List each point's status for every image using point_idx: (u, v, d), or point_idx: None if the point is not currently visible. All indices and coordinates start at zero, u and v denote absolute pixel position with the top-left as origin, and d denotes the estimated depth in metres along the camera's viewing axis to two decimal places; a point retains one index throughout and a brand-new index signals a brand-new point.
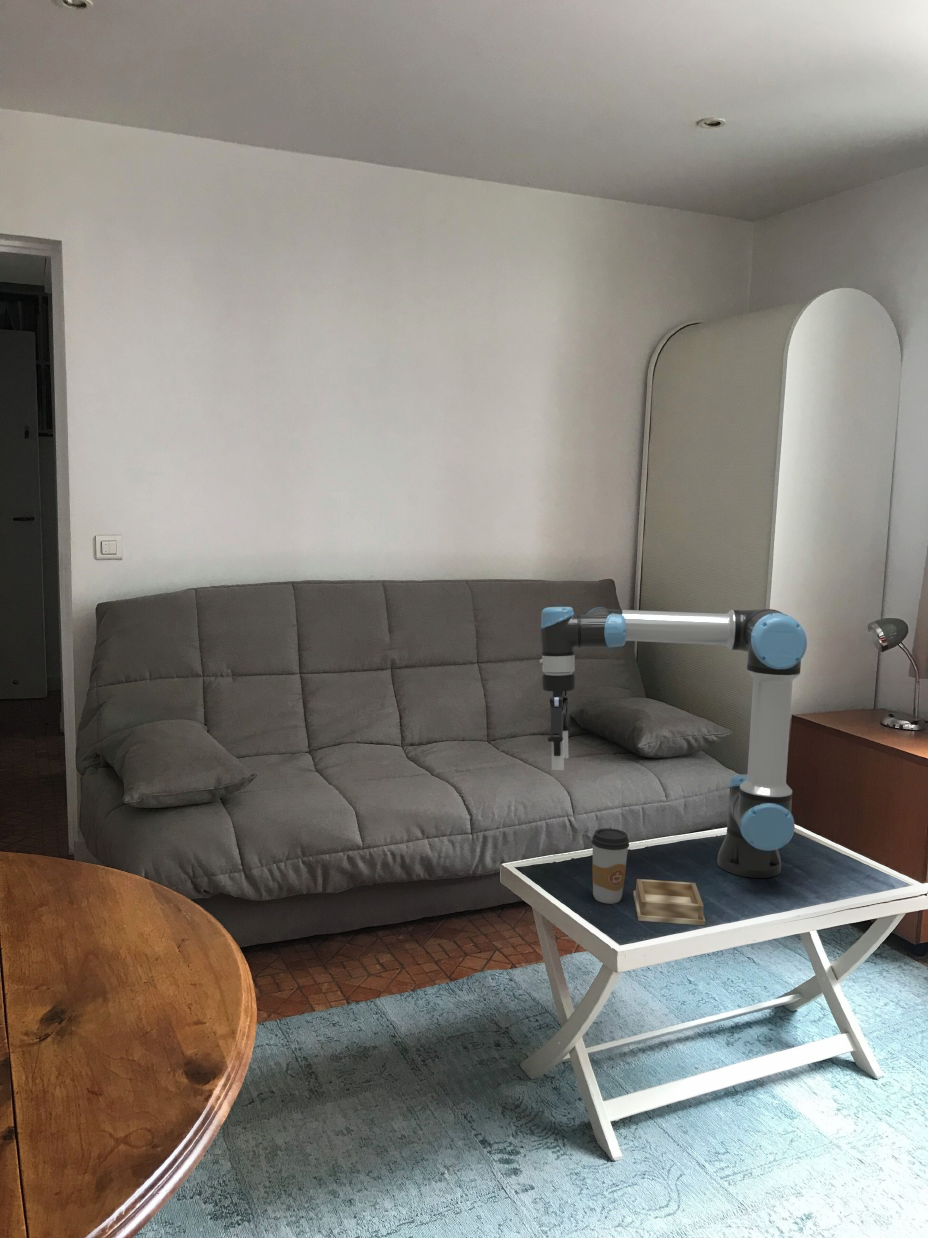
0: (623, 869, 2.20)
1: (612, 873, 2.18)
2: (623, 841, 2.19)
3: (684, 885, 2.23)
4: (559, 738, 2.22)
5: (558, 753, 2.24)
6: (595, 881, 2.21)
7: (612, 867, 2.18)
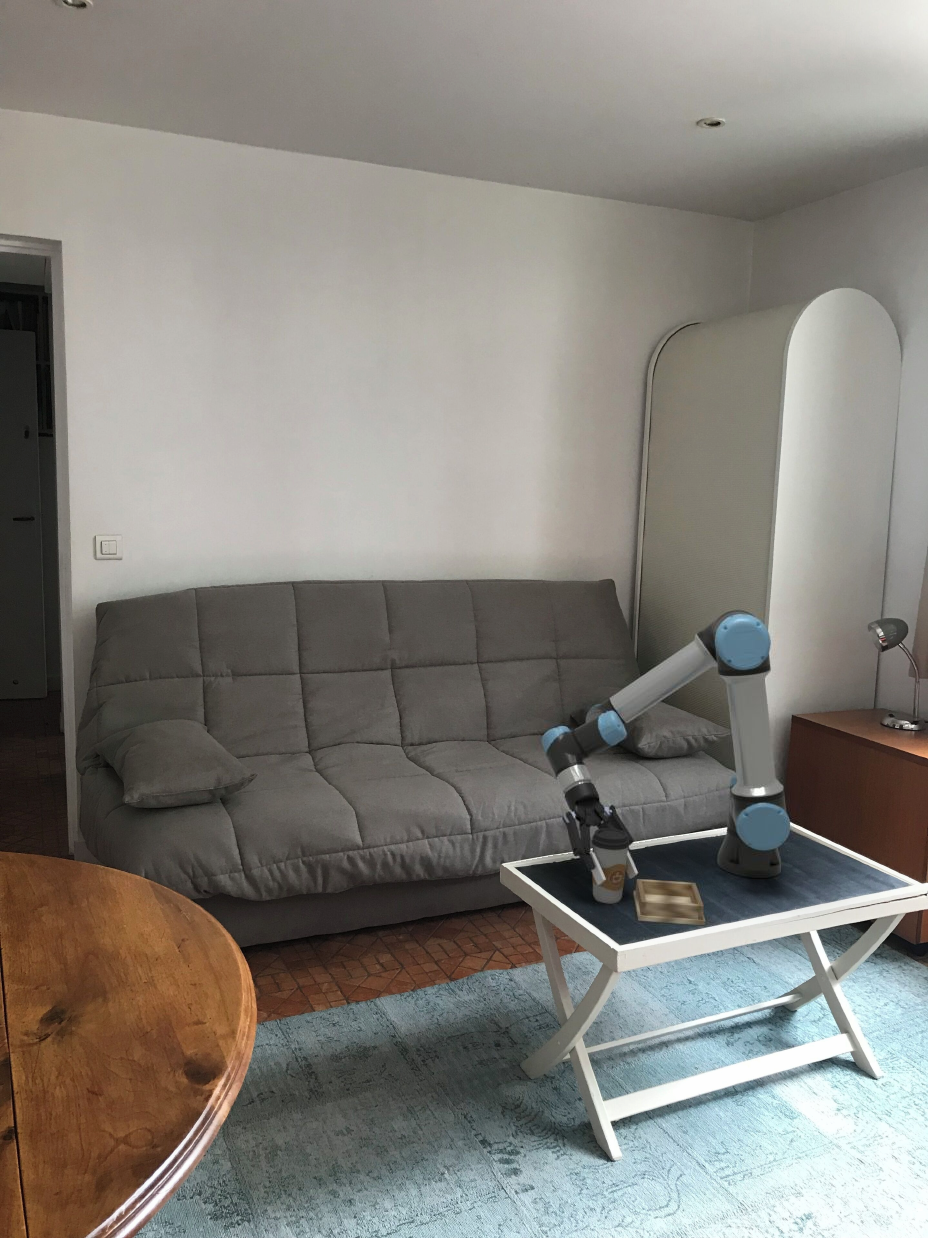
0: (623, 869, 2.20)
1: (612, 873, 2.18)
2: (623, 841, 2.19)
3: (684, 885, 2.23)
4: (577, 850, 2.19)
5: (589, 866, 2.18)
6: (595, 881, 2.21)
7: (612, 867, 2.18)
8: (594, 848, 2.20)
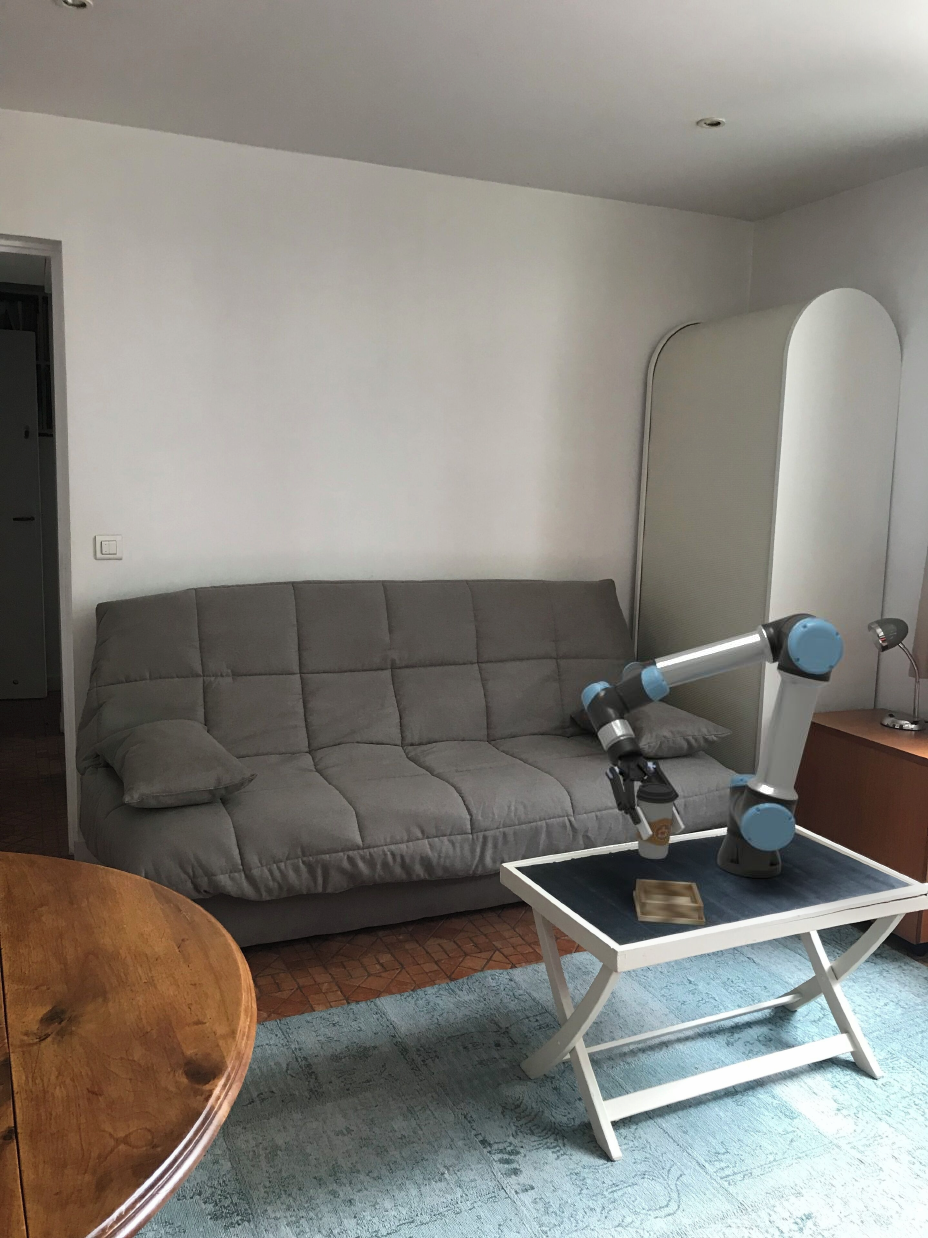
0: (669, 823, 2.15)
1: (658, 828, 2.13)
2: (669, 794, 2.13)
3: (684, 885, 2.23)
4: (622, 805, 2.14)
5: (635, 820, 2.13)
6: (640, 837, 2.16)
7: (658, 821, 2.13)
8: (639, 802, 2.15)
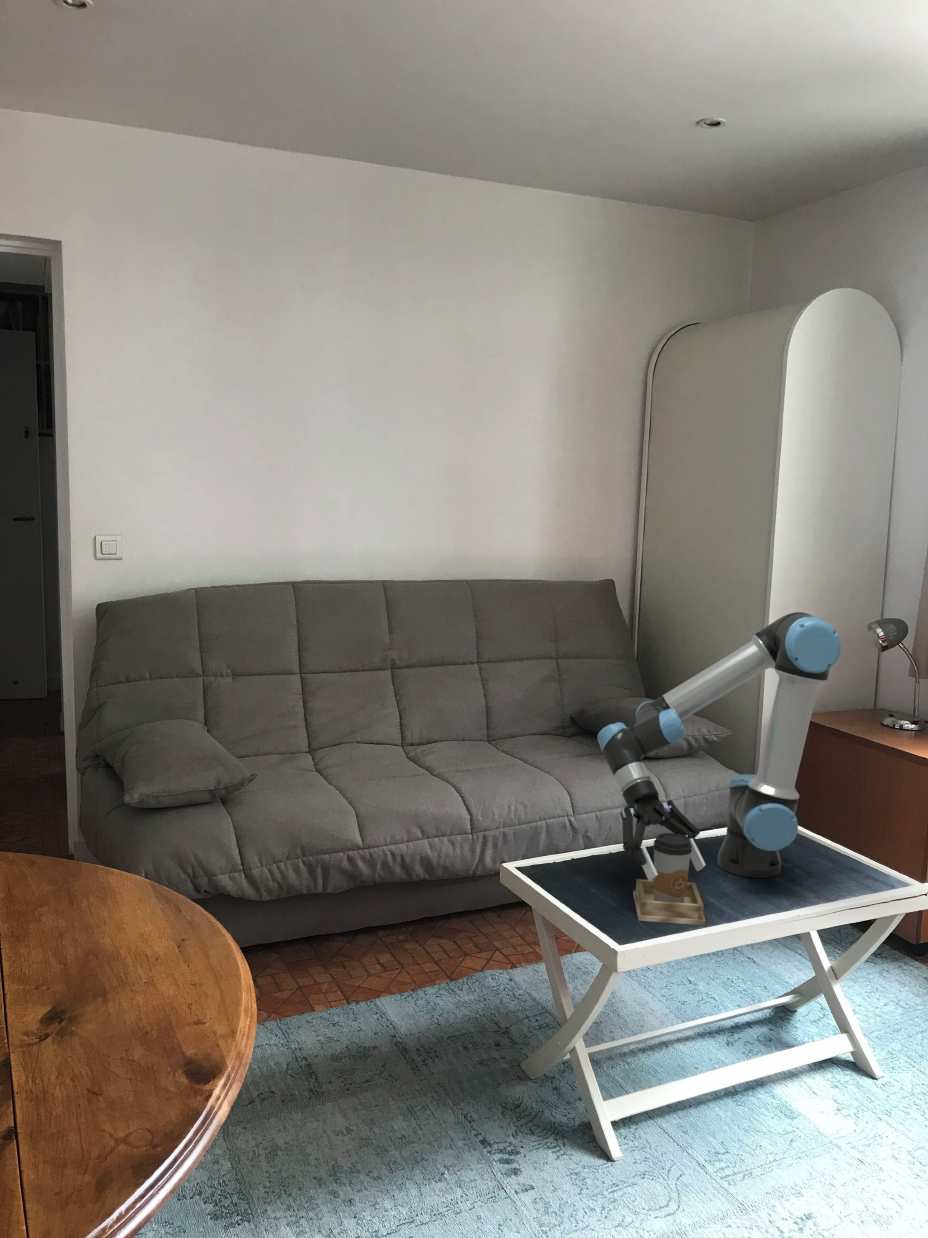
0: (686, 875, 2.15)
1: (675, 879, 2.13)
2: (686, 846, 2.14)
3: None
4: (628, 845, 2.13)
5: (640, 861, 2.13)
6: (657, 887, 2.16)
7: (675, 873, 2.13)
8: (656, 853, 2.15)
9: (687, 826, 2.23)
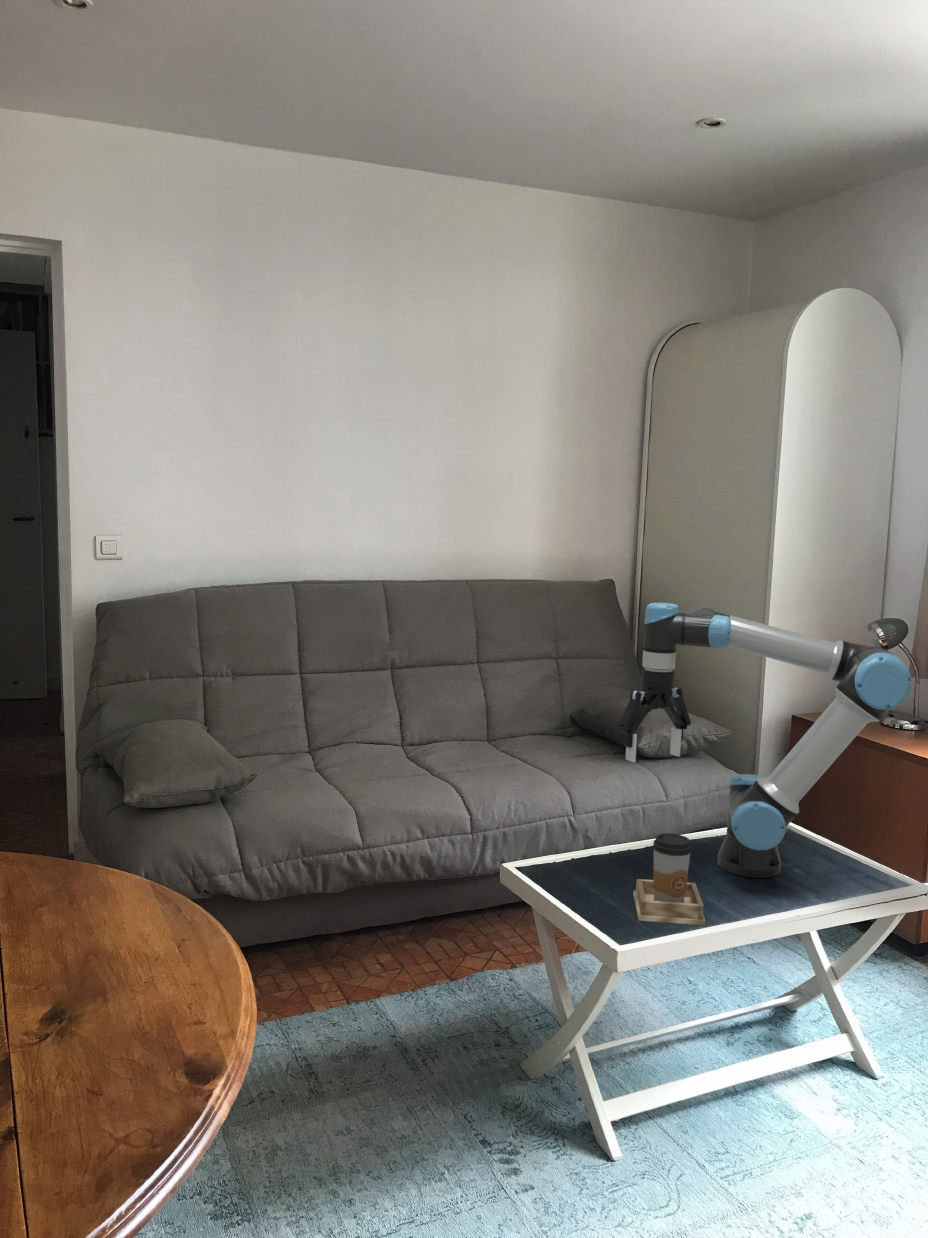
0: (685, 875, 2.15)
1: (675, 880, 2.13)
2: (686, 846, 2.13)
3: None
4: (623, 730, 2.28)
5: (627, 744, 2.30)
6: (657, 888, 2.16)
7: (675, 873, 2.13)
8: (656, 854, 2.15)
9: (683, 715, 2.37)
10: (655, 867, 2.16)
